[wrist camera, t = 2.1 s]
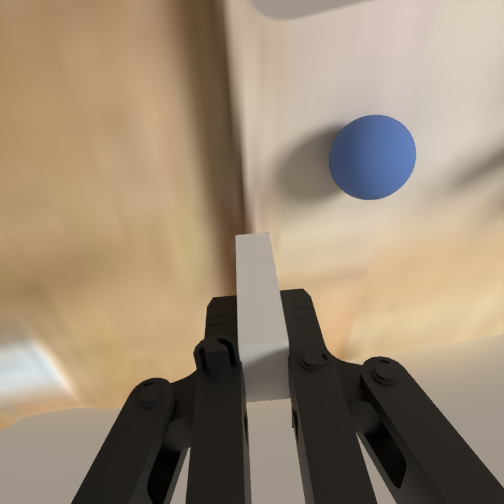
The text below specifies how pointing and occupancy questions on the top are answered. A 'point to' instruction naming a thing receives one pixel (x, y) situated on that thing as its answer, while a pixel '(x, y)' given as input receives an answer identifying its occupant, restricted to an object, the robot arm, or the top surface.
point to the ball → (372, 157)
